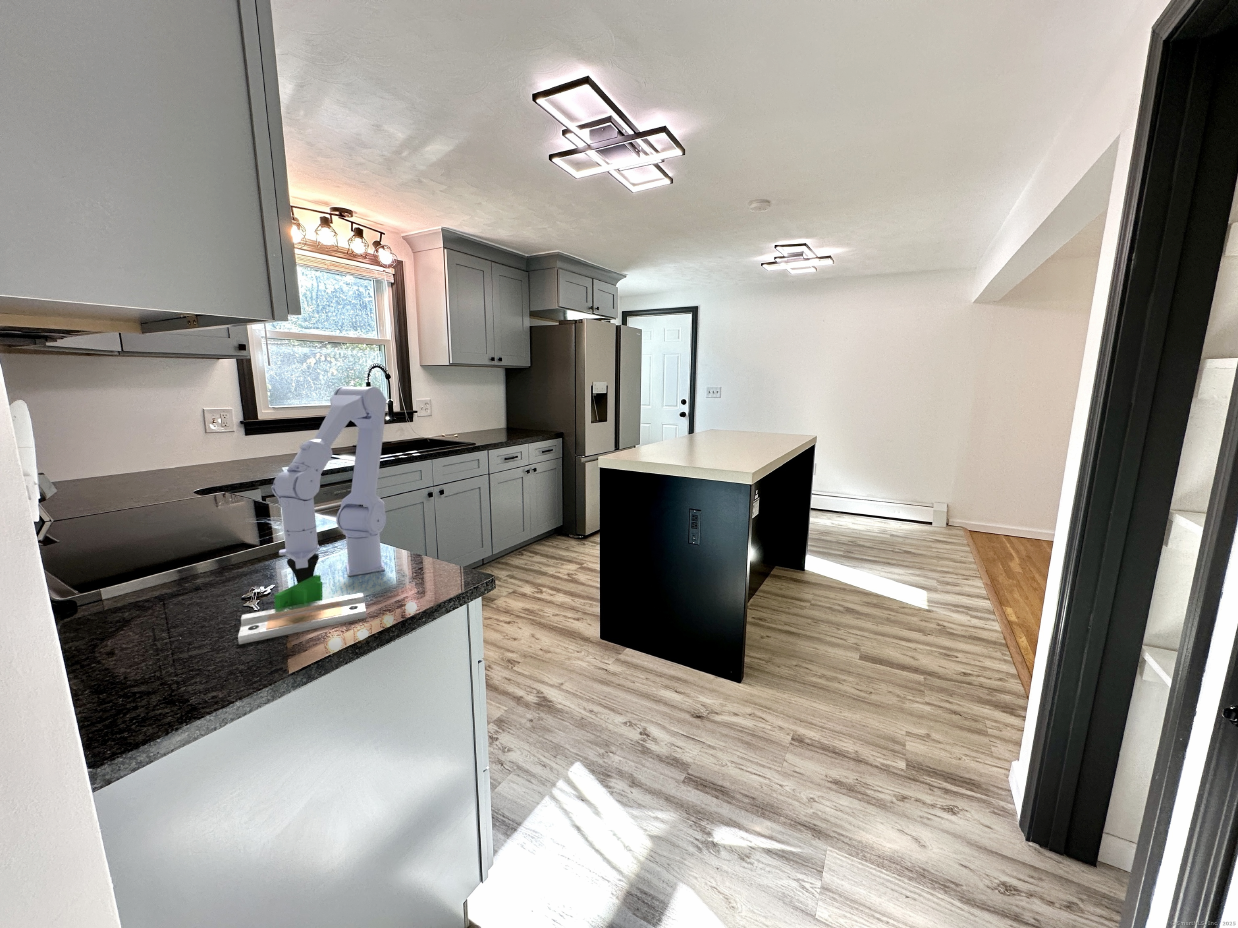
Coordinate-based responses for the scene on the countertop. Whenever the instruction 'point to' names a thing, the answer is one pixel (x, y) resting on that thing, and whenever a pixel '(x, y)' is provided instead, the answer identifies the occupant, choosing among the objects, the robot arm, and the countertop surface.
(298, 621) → the rail
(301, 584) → the green angular block
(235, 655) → the countertop surface
